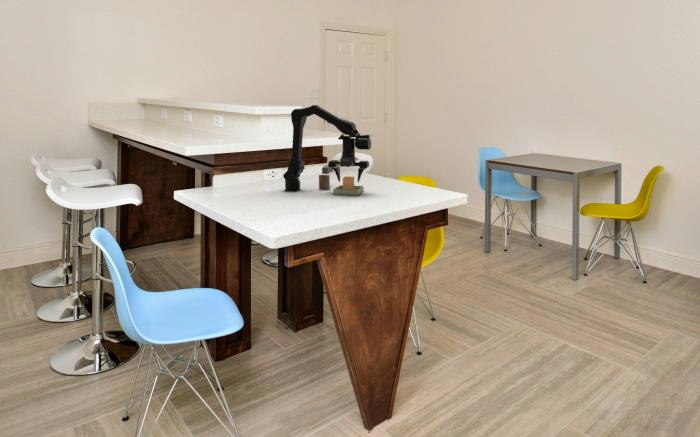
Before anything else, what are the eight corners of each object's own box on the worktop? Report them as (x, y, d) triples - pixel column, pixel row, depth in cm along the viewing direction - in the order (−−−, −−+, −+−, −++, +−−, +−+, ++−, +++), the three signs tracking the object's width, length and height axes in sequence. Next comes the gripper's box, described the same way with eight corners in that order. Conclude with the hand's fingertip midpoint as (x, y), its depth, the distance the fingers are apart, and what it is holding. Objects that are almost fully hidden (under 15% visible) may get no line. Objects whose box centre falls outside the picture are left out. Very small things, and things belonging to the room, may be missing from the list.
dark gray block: (322, 173, 263) (321, 167, 262) (327, 170, 273) (327, 165, 272) (327, 173, 262) (327, 167, 262) (333, 171, 272) (332, 165, 271)
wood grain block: (319, 189, 263) (318, 175, 261) (319, 189, 264) (319, 174, 263) (328, 190, 262) (328, 175, 260) (329, 189, 263) (329, 175, 262)
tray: (333, 194, 249) (333, 189, 249) (339, 190, 261) (339, 185, 260) (358, 195, 247) (358, 190, 246) (363, 191, 258) (363, 186, 257)
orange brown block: (342, 192, 252) (342, 177, 250) (345, 190, 256) (345, 176, 255) (351, 192, 251) (351, 178, 249) (354, 191, 255) (354, 176, 254)
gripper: (324, 150, 243) (325, 184, 247) (364, 151, 239) (364, 185, 243) (331, 148, 254) (331, 180, 257) (369, 148, 250) (369, 181, 253)
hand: (348, 182), depth 252 cm, fingers open, 9 cm apart
